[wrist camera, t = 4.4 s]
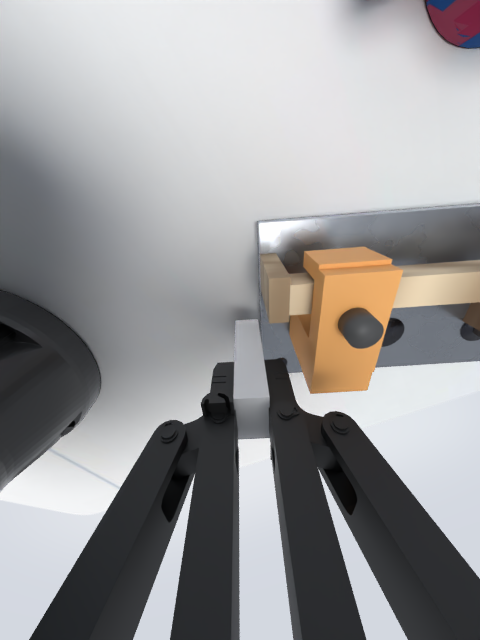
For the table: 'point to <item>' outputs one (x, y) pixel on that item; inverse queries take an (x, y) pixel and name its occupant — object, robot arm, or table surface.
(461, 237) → the flange plate
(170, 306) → the table surface
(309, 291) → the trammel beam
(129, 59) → the table surface
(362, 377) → the slider leg
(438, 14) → the mug
